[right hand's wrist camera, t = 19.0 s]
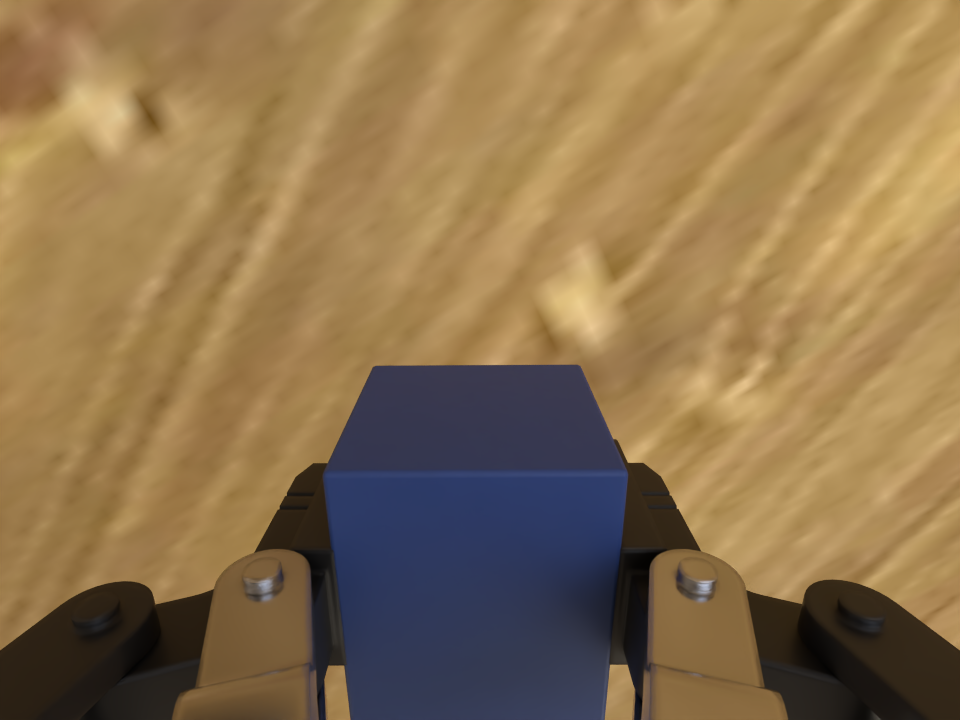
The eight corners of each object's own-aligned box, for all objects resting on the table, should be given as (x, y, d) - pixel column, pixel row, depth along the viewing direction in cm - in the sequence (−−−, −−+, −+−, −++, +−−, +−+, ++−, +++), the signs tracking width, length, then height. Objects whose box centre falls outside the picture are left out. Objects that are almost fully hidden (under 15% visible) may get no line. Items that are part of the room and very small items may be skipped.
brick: (386, 562, 14) (350, 730, 10) (372, 364, 12) (320, 473, 8) (569, 561, 14) (605, 729, 10) (580, 363, 12) (630, 471, 8)
